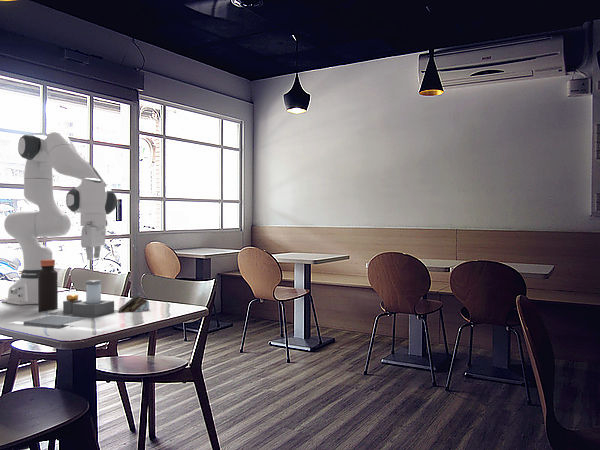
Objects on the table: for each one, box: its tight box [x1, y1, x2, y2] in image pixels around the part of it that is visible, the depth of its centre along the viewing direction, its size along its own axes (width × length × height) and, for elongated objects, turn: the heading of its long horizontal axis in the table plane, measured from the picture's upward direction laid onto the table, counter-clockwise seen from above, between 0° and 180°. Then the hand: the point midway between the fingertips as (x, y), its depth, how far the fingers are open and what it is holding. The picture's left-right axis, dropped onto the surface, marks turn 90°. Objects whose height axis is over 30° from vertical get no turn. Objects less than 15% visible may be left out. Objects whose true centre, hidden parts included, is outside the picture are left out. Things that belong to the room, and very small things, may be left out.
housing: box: [46, 299, 119, 319], centre depth 192 cm, size 22×16×5 cm
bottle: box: [37, 259, 59, 313], centre depth 199 cm, size 7×7×20 cm
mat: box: [23, 315, 88, 329], centre depth 178 cm, size 16×12×1 cm
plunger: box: [66, 294, 79, 302], centre depth 194 cm, size 4×4×6 cm
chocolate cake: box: [117, 292, 150, 313], centre depth 197 cm, size 10×7×12 cm
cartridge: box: [85, 279, 102, 304], centre depth 191 cm, size 5×5×12 cm
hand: (93, 258), depth 190 cm, fingers open, 8 cm apart
